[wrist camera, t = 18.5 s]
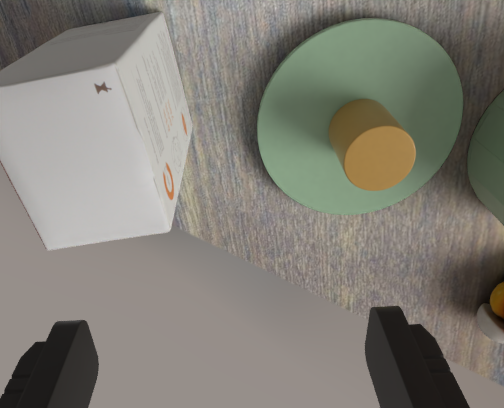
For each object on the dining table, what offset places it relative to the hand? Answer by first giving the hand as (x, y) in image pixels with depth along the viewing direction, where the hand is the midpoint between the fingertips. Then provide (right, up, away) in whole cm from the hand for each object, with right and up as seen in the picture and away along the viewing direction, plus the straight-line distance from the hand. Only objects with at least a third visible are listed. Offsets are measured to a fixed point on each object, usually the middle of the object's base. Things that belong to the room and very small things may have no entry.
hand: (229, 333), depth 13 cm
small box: (-7, +12, +17) cm, 22 cm away
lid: (+8, +9, +19) cm, 23 cm away
